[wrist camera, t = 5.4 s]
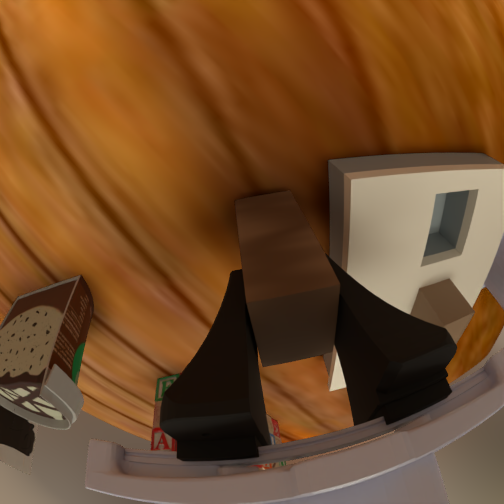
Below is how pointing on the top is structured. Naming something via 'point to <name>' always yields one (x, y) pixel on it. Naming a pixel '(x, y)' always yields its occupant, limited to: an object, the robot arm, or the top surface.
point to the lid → (420, 241)
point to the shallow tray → (445, 207)
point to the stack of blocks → (167, 443)
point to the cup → (17, 440)
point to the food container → (45, 353)
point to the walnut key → (285, 280)
